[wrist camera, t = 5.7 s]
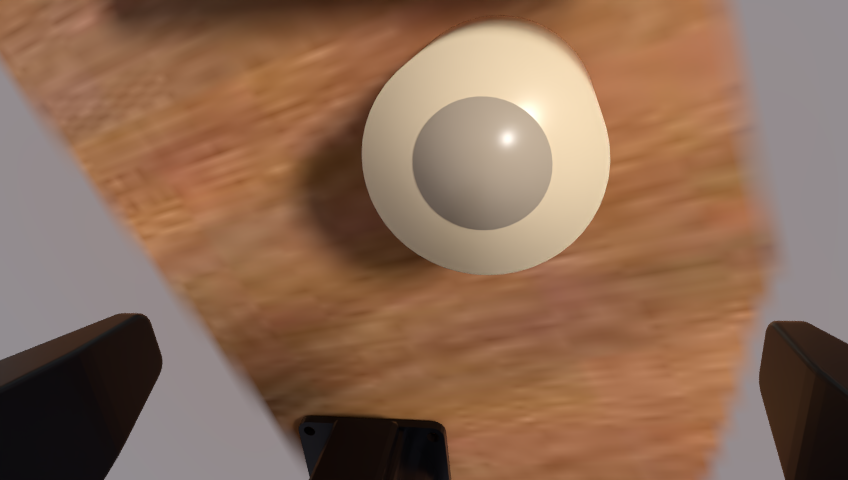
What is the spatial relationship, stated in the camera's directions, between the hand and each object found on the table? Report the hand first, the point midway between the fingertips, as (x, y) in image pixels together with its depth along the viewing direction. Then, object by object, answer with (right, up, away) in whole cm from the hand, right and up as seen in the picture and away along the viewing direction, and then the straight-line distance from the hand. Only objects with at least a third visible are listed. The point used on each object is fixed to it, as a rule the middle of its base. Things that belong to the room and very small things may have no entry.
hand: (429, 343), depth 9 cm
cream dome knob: (+2, +6, +12) cm, 13 cm away
